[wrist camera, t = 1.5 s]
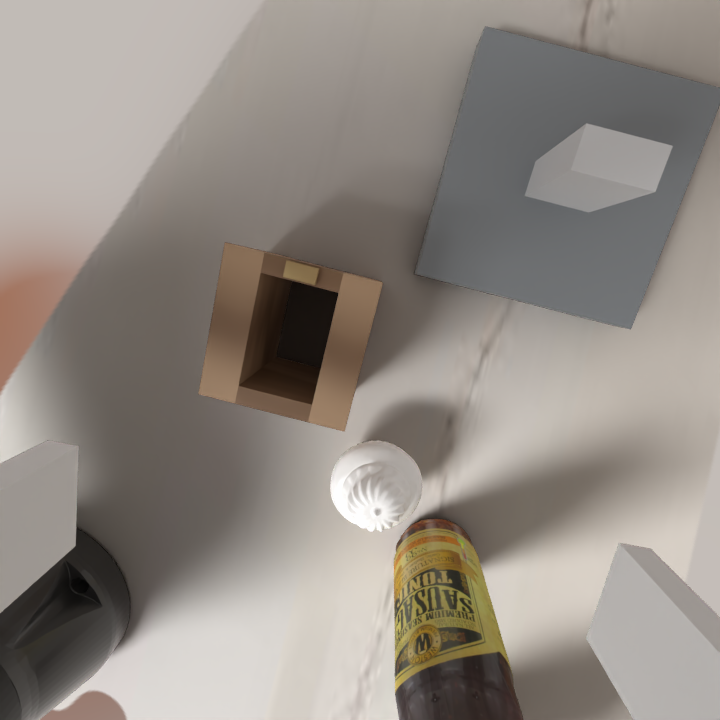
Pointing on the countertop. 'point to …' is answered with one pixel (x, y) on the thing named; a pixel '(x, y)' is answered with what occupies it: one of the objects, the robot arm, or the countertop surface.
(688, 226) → the countertop surface
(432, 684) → the sauce bottle
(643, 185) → the shaft stand
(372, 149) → the countertop surface
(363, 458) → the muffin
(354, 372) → the brown hollow block
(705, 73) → the countertop surface
